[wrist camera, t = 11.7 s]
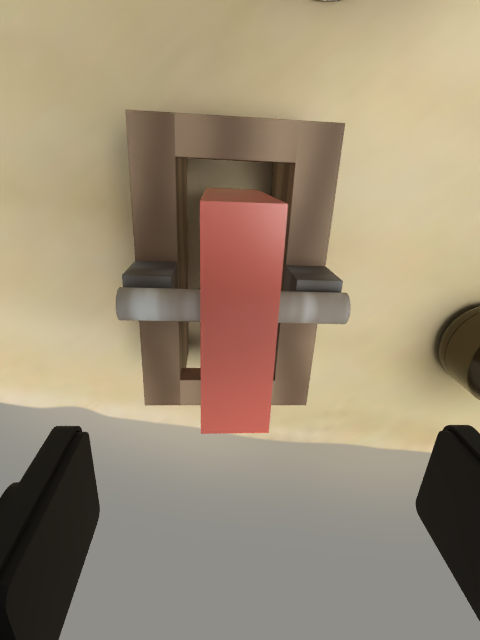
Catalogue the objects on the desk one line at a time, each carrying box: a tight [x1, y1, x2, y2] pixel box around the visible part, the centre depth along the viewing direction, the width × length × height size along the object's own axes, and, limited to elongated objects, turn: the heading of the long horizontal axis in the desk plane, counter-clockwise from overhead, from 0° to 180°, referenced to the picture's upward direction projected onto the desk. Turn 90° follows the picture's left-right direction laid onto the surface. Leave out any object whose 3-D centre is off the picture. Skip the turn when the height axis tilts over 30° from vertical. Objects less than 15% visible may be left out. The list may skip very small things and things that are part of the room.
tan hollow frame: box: [116, 110, 350, 405], centre depth 29 cm, size 14×22×16 cm, turn 177°
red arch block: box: [200, 188, 288, 434], centre depth 25 cm, size 4×13×13 cm, turn 178°
